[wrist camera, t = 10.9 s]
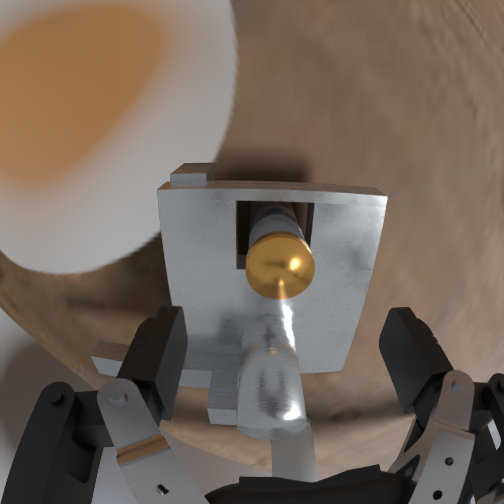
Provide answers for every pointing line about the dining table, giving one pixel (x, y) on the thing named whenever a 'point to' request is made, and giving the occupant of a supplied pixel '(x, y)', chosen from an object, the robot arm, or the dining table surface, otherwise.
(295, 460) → the travel mug
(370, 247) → the grey metal bracket
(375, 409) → the dining table surface
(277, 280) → the pin
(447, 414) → the robot arm
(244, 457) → the dining table surface
